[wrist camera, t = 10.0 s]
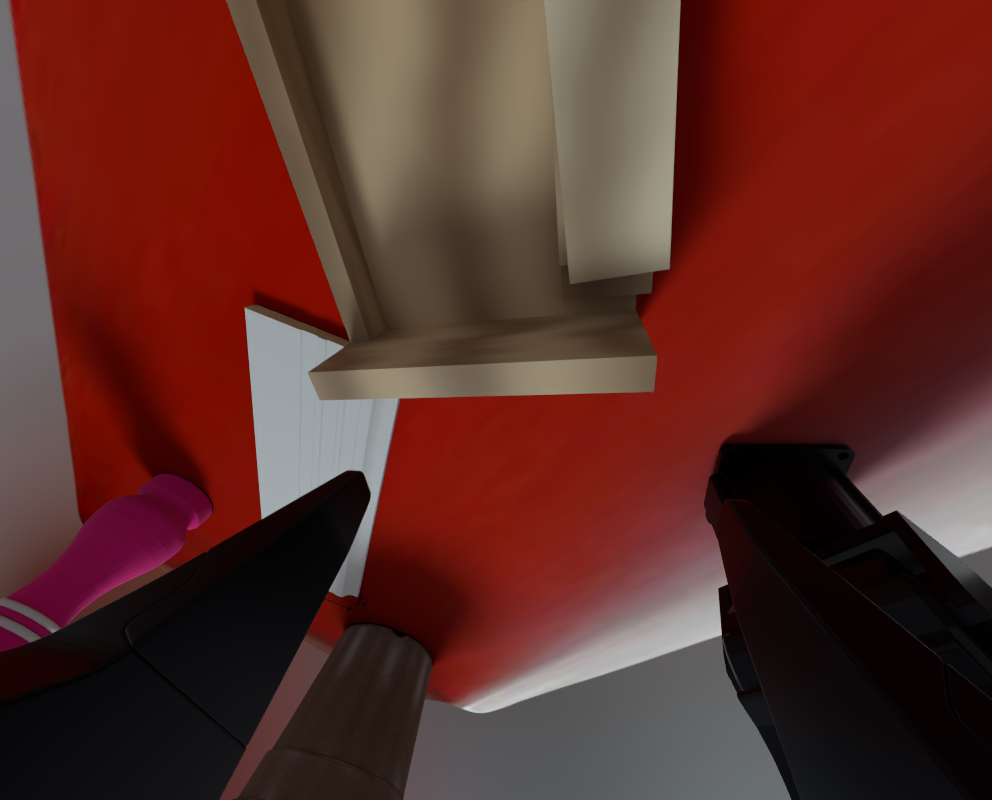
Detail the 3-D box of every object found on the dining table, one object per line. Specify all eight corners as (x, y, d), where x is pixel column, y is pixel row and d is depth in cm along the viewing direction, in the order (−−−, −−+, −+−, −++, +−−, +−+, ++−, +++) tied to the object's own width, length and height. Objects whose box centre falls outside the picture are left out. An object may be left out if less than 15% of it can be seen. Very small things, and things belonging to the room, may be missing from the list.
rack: (665, -330, 10) (778, -1001, 4) (632, 332, 19) (653, 391, 14) (231, -124, 13) (-10, -338, 8) (382, 348, 23) (319, 400, 17)
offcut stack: (690, -214, 10) (728, -347, 8) (653, 287, 17) (666, 305, 14) (540, -154, 11) (529, -254, 9) (562, 295, 18) (559, 313, 15)
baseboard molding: (431, 368, 23) (263, 300, 23) (414, 389, 21) (225, 314, 21) (373, 594, 40) (275, 555, 40) (360, 620, 38) (255, 578, 38)
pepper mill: (206, 528, 39) (-76, 788, 22) (144, 488, 37) (-213, 738, 20) (227, 503, 35) (-89, 788, 19) (160, 457, 34) (-257, 727, 17)
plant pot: (398, 604, 39) (302, 825, 26) (474, 677, 45) (429, 889, 31) (306, 618, 46) (192, 799, 32) (383, 681, 52) (313, 856, 38)
